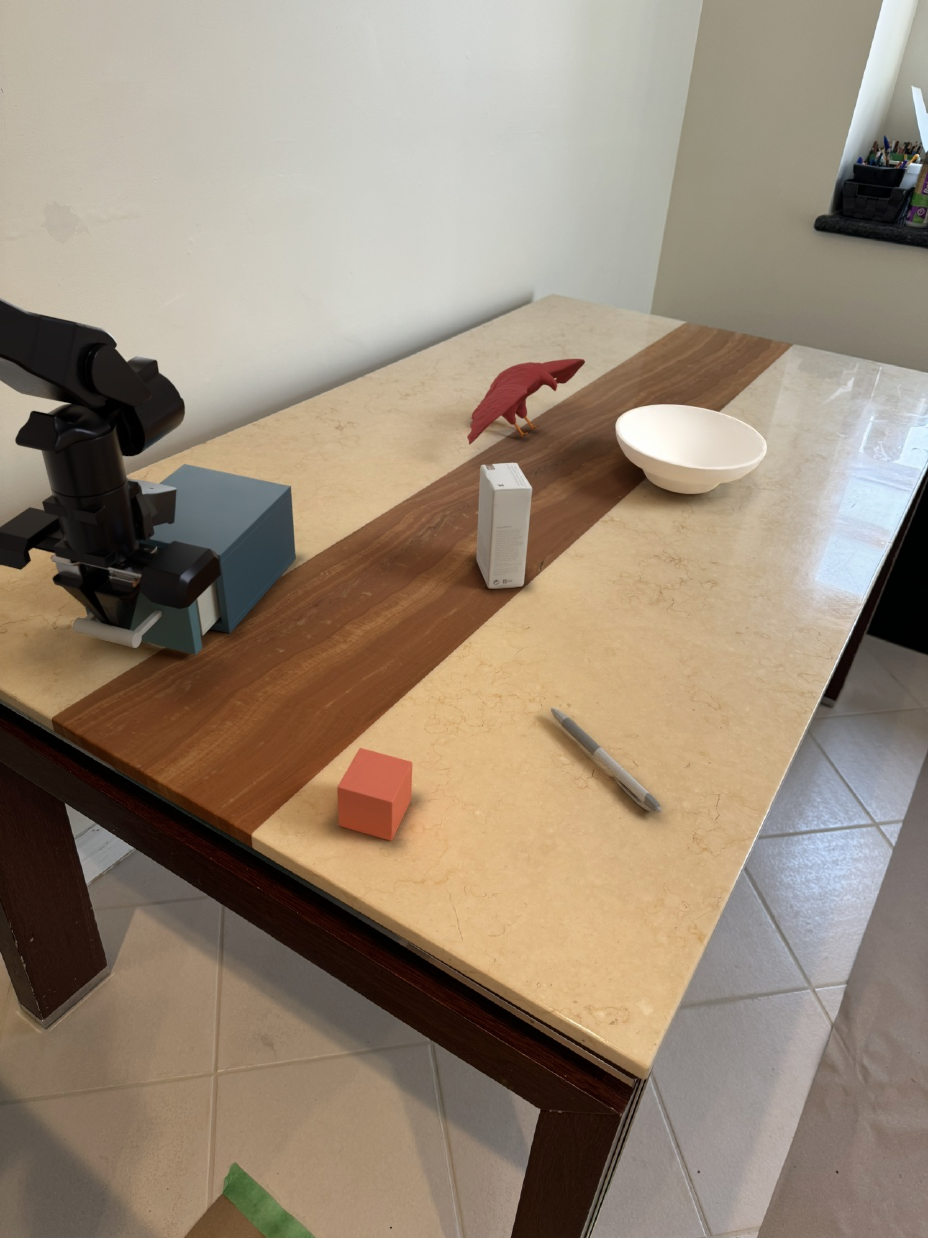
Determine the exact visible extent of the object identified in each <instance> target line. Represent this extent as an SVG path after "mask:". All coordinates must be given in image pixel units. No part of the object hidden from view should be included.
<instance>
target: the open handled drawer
mask: <svg viewBox="0 0 928 1238" xmlns="http://www.w3.org/2000/svg"><path fill="white" fill-rule="evenodd" d="M162 550H163V549H161V548H157V552H156V553H155V554H159V553H160V552H161V551H162ZM84 608H85V607H84ZM85 613H86V616H85V617H76V618H75V619H74V621H73V622H72V626H71V627H72V629H71V630H72V631H73V632H74V633H75V634H79V635H83V636H86V637H90V638H94V639H98V640H102V641H106V642H110V643H113V644H117V645H121V646H124V647H129V648H132V649H137V648H138V647H139V646H140V645H141V642H143V643H148V644H152V645H155V646H159V647H163V648H166V649H171V650H174V651H178V652H182V653H186V654H190V655H193V656H196V655H197V654H199V653H200V651H201V650H202V649H203V642H202V636H204V635H205V634H206V633H207V632H208V631H209V630H211V629H210V628H211V626H212V625H213V624H214V623H215V622H216V621H217V620H218V619H219V618H220V617H221V613H220V605H219V598H218V590H217V582H216V580H215V581H214V582H213V583H212V584H211V585H210V586H209V587H208V588H207V589H206V590H205V591H204V592H203V593H202V594H201V595H200V596H199V597H198V598H197V599H196V600H195V601H194V602H193V603H192V604H191V605H190V606H189V607H186V608H182V609H176V608H172V607H168V606H164V605H160V604H156V603H152V602H151V601H149V600H148V599H147V598H146V597H145V596H144V595H143V594H142V593H141V590H140V593H139V596H138V599H137V603H136V607H135V611H134V616H133V620H132V624H131V628H130V630H127V629H123V628H119V627H115V626H111V625H108V624H104V623H101V622H100V621H99V620H98V619H97V618H96V617H95V616H94V615H93V614H92V613H91V612H90V611H89V610H88V609H87V608H85Z"/></svg>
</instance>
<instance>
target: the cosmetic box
mask: <svg viewBox="0 0 928 1238" xmlns="http://www.w3.org/2000/svg"><path fill="white" fill-rule="evenodd" d="M532 494H533V487H532V485H531V484H530V482H529V480H528V479H527V478H526V476H525V474H524V472H523V471H522V469H521V467H520V465H519V464H518V462H501V463H490V464H481V465H480V469H479V487H478V513H477V514H478V515H477V537H476V563H477V565H478V567H479V570H480V572H481V574H482V577H483V579H484V582H485V585H486V586H487V588H488V589H494V590H495V589H497V590H498V589H512V588H520V587H521V588H522V587H523V586H524V584H525V575H526V565H527V564H526V562H527V551H528V541H529V529H530V520H531V519H530V517H531V506H532V496H533V495H532Z"/></svg>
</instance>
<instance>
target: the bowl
mask: <svg viewBox="0 0 928 1238" xmlns="http://www.w3.org/2000/svg"><path fill="white" fill-rule="evenodd" d="M615 436H616V441H617V443H618V445H619V447H620V449H621V451H622V452H623V454H624V456H625V458H627V459H628V460H629V461H630V462H631V463H633V464H634V465H635V466H637V467H638V468H640V469H641V470H642V472H643V473H644V475H645V477H646V478H647V480H648V481H649V482H651V483H652V484H654V485H655V486H656V487H659V488H661V489H664V490H667V491H670V492H674V493H679V494H686V495H695V494H696V495H698V494H705V493H708V492H710V491H712V490H714V489H715V488H717V486H719V485H720V484H727V483H730V482H734V481H738V480H740V479H742V478H743V477H745V476H746V475H748V474H749V473H750V472H752V471H754V470H755V469H756V468H757V467H758V466H759V464H760V463H761V462H762V460H763V459H764V457H765V455H766V454H767V451H768V445H767V442H766V440H765V438H764V437H763V436H762V434H761V433H760V432H759V431H757V430H756V429H755V428H754V427H753V426H751V425H749V424H748V423H746V422H744V421H742V420H741V419H739V418H736V417H734V416H732V415H728V414H725V413H723V412H721V411H716V410H712V409H708V408H704V407H700V406H699V407H698V406H692V405H685V404H684V405H683V404H665V403H664V404H650V405H644V406H638V407H636V408H632V409H629V410H627V411H625V412H624V413H622V414H621V415H620V416H619V417H618V418H617V420H616V422H615Z"/></svg>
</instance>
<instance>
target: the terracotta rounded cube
mask: <svg viewBox="0 0 928 1238" xmlns="http://www.w3.org/2000/svg"><path fill="white" fill-rule="evenodd" d="M354 755H355V756H354V757H353V759H352V760H351V762H350V764H349V766H348V768H347V770H346V771H345V773H344V774H343V776H342V778H341V779H340V781H339V783H338V785H337V791H336V792H337V814H338V816H337V817H338V826H339V827H341V828H346V829H349V830H352V831H356V832H359V833H362V834H365V835H368V836H373V837H377V838H379V839H383V840H386V841H390V842H391V841H393V840H394V837H395V835H396V833H397V831H398V829H399V827H400V825H401V822H402V820H403V818H404V816H405V814H406V812H407V810H408V808H409V805H410V803H411V801H412V789H413V788H412V785H413V761H411V760H407V759H403V758H399V757H396V756H392V755H388V754H384V753H381V752H377V751H374V750H370V749H366V748H362V747H359V748H358V750H357V752H356V753H355V754H354Z"/></svg>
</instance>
